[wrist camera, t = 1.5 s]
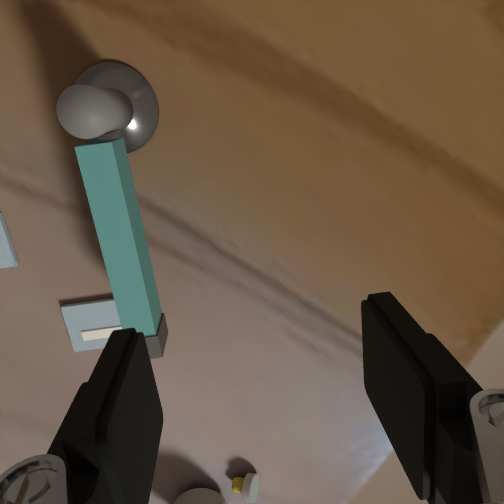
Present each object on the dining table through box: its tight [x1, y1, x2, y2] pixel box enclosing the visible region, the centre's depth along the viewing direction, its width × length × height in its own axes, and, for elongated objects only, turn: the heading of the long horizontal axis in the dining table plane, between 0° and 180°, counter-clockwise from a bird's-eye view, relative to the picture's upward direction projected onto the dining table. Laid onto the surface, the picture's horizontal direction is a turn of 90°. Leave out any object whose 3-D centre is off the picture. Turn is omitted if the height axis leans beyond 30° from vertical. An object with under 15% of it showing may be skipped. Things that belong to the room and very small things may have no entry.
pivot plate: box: [73, 62, 159, 153], centre depth 25 cm, size 5×5×1 cm
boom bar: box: [56, 85, 168, 359], centre depth 24 cm, size 15×2×6 cm, turn 7°
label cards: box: [0, 212, 122, 352], centre depth 29 cm, size 12×11×1 cm
